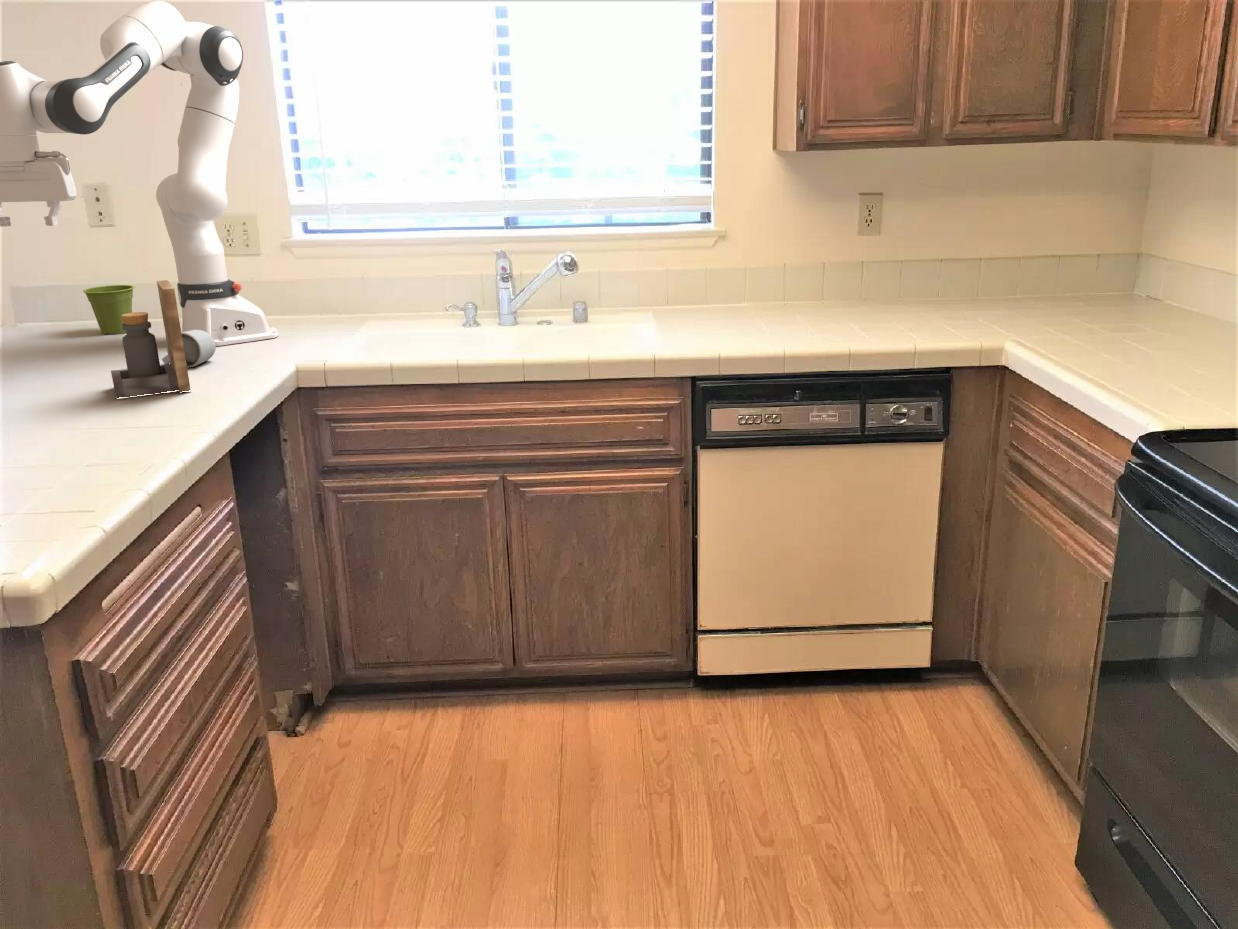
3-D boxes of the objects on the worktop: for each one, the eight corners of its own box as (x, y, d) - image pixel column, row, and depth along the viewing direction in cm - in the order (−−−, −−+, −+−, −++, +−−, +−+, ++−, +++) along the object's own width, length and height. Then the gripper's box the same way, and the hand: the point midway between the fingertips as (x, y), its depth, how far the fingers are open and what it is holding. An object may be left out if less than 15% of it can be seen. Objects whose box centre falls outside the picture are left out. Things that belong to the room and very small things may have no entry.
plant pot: (82, 334, 256) (73, 289, 253) (126, 326, 266) (118, 283, 262) (107, 338, 250) (98, 293, 246) (151, 330, 259) (144, 286, 256)
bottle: (140, 386, 200) (126, 311, 195) (169, 386, 200) (156, 311, 195) (125, 393, 194) (111, 316, 190) (155, 393, 194) (142, 316, 190)
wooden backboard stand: (183, 377, 206) (167, 280, 200) (190, 392, 195) (174, 288, 188) (113, 386, 201) (95, 285, 194) (117, 401, 189) (97, 295, 183)
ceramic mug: (220, 360, 223) (214, 325, 220) (203, 368, 215) (197, 332, 212) (174, 361, 223) (168, 326, 221) (156, 369, 216) (149, 334, 213)
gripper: (75, 150, 195) (89, 223, 199) (-27, 152, 196) (-12, 225, 200) (57, 150, 189) (71, 226, 193) (-49, 153, 190) (-32, 228, 194)
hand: (28, 225), depth 197 cm, fingers open, 8 cm apart
